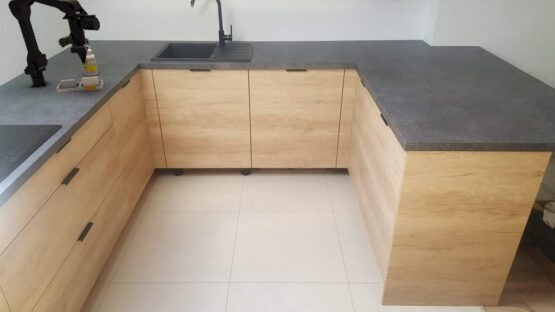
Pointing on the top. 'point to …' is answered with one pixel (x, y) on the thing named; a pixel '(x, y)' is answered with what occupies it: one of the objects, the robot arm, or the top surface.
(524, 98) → the top surface
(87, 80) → the white panel
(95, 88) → the rack
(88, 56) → the supplement bottle
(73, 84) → the grey filler panel
